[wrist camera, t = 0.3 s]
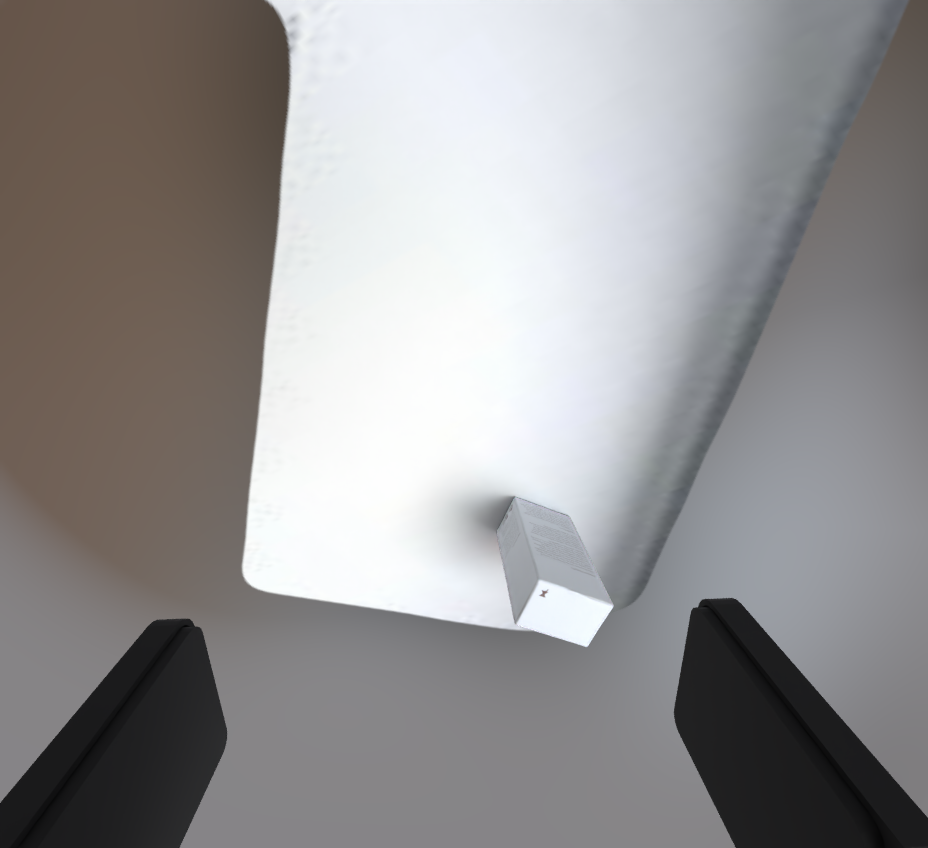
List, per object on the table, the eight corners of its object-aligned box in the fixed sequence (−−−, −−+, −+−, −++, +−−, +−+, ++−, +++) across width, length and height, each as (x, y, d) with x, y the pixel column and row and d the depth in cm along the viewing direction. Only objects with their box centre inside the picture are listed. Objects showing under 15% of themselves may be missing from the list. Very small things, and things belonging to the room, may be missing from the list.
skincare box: (495, 532, 44) (511, 625, 32) (513, 494, 42) (537, 577, 31) (552, 552, 45) (588, 650, 33) (572, 516, 43) (616, 604, 32)
